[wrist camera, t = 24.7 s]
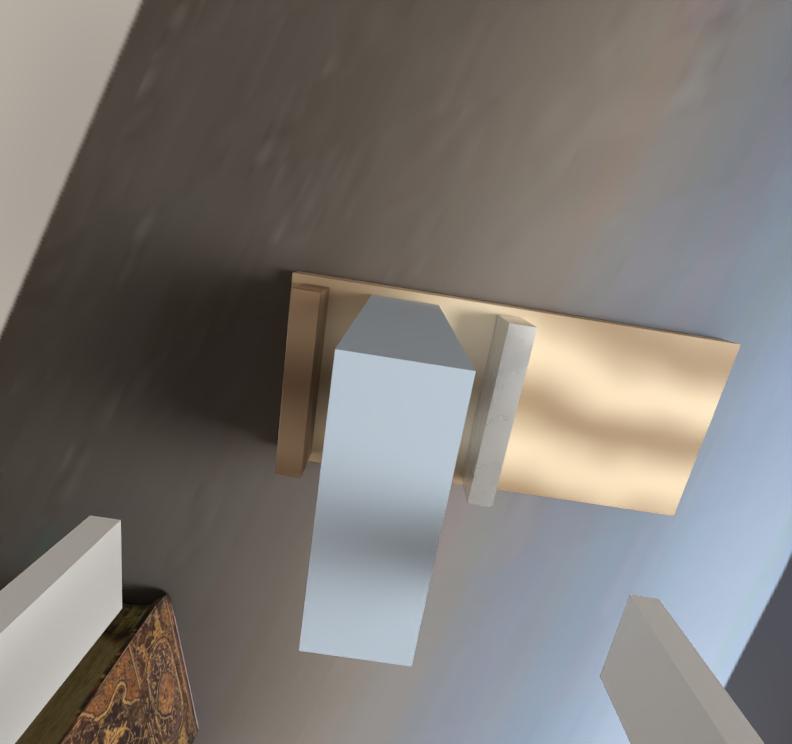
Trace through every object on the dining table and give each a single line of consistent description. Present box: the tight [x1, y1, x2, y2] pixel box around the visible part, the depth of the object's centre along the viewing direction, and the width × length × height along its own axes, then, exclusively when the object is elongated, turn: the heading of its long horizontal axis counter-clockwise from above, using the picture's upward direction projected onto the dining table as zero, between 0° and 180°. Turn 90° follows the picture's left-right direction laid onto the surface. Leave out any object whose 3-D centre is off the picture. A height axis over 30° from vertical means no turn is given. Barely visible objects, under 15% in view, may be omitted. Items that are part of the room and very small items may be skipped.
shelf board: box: [276, 271, 740, 516], centre depth 27 cm, size 12×27×4 cm, turn 81°
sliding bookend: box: [461, 314, 537, 507], centre depth 26 cm, size 11×2×3 cm, turn 171°
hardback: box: [299, 294, 476, 666], centre depth 20 cm, size 4×11×14 cm, turn 171°
